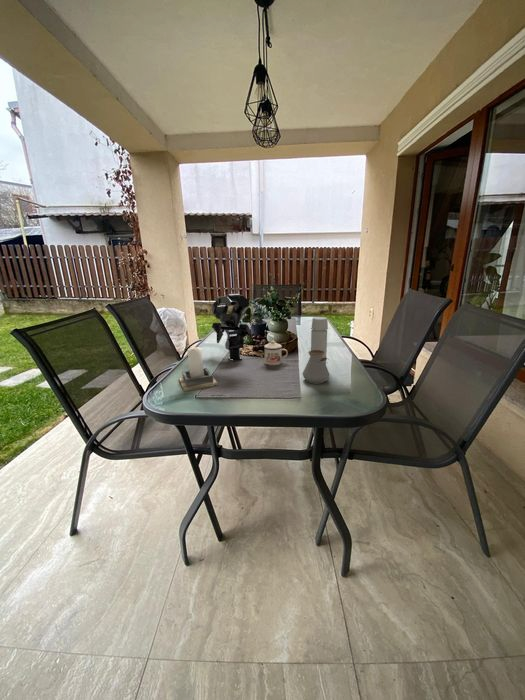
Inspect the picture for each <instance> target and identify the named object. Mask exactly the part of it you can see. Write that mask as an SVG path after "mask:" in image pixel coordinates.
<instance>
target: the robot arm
mask: <svg viewBox="0 0 525 700" xmlns="http://www.w3.org/2000/svg"><path fill="white" fill-rule="evenodd" d="M248 299H249V298H247V297H245V296H244V294H240V293H227V294H226V295H220V296H217V297H216V300H215V302H213V304H212V306H211V307H212V308H211V313H212V315H213V316H214V318H216V319H218V320H219V322H216V321H215V322H213V323H212V325H211V327H212V329H213V330H214V332H215V334H216V343H217V344H219V343H220V342H221V340H222V337H223V335H224V332H225V334H226V341H225V343H224V345H225V346H224V347H225V349H226V350H228V351H229V352H228V355H229V356H228V357H230V359H233V360H236V361H240V360H239V359H240V357H241V350H240V349H243V348H244V344H245V343H244V342H245V339H244V338H245V337H247V336H250V335H251V332H252V331H251V328H250V327H249V325H248V324H247V323H242V316H243V314H244V313H245V312H246V310H247V309H248V308H249V307H250V300H248ZM220 304H221V305H220ZM231 306H232V309H231V311H230V313H228V310H229V307H231Z"/></svg>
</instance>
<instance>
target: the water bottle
mask: <svg viewBox="0 0 525 700" xmlns="http://www.w3.org/2000/svg"><path fill="white" fill-rule="evenodd" d="M311 321H312V322H311V327H310V330H311V332H310V335H311V336H310V351H311V350H321V351H324V354H323V358H324V357H325V358H327V347H328V330H329V327H328V326H329V324H328V323H329V322H328V317H325V316H324V317H323V316H317V317H316V316H315V317H312V320H311ZM324 362H325V364H326V365H327V360H325V361H324Z"/></svg>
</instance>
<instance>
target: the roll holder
mask: <svg viewBox="0 0 525 700" xmlns="http://www.w3.org/2000/svg"><path fill="white" fill-rule="evenodd" d="M178 380H179V383H180V385H181V387H182V389H183V391H184V392H188V391H192V390H199V389H204V388H208V387H209V386H210V387H215V386H214V385H216V386H219V385H218V384H219V383H218V381H217V380H216V379H215V378H214V376H213V374H212V373H211V371H209V368H208V367H207V368H206V367H205V368H204V376H203V377H197V378H192V379H190V370H186V371H182V376H181V377H178Z"/></svg>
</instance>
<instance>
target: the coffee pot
mask: <svg viewBox="0 0 525 700" xmlns="http://www.w3.org/2000/svg"><path fill="white" fill-rule="evenodd" d="M307 353H308V354H309V358H308V360H307V362H306V365H305V367H304V369H303V372H302V377H303V379H304V380H305V381H307V382H308V383H310V384H315V385H317V384H324V382H326V381H327V380H329V378H330V372H329V369H328V367H327V363H326V364H325V362H324V361H325V360H326V361H327V360H328V357H326V358H325V357H324V358H323V354H324V351H321V350H311V349H310V350H309V351H308V352H307Z"/></svg>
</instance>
